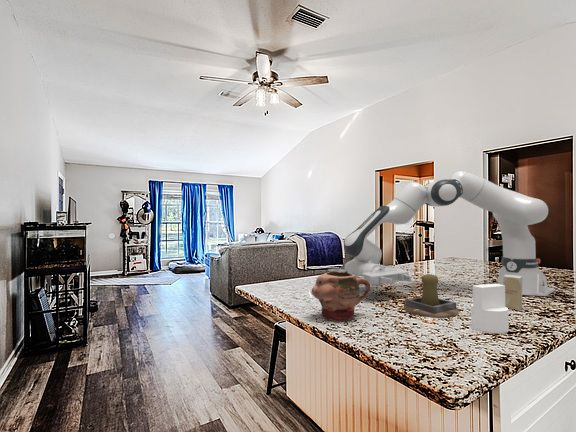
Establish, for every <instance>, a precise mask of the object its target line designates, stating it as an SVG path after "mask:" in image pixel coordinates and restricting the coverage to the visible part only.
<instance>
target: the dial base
mask: <svg viewBox="0 0 576 432" xmlns="http://www.w3.org/2000/svg"><path fill="white" fill-rule="evenodd" d="M421 300H422V296H419V297H418V296H417V297H413V298H412V297H411V298H409V299H408V298H407V299H405V300H404V304H403V310H404V311H405V312H408V313H410V314H413V315H416V316H420V317H426V318H435V319H436V318H437V319H442V318H443V319H444V318H445V319H446V317H448V318H454V317H457V316H458V315H459V314H460V313H459V312H460V311H459V308H458V307H457V302H455V301H453V300H452V301H451V300H447V299H442V298H439V304H440V305H437V306H431V305H427V304H423V303H421ZM458 313H459V314H458ZM456 315H457V316H456ZM453 316H454V317H453Z"/></svg>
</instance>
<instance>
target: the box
mask: <svg viewBox="0 0 576 432" xmlns="http://www.w3.org/2000/svg"><path fill="white" fill-rule="evenodd" d="M522 279H523V277H522V276H515V275H504V276H503V285H505V307H507V308H509V309H508V310H514V309H515V310H516V311H521V310H522V308H523V295H522Z"/></svg>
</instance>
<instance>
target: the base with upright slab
mask: <svg viewBox="0 0 576 432" xmlns="http://www.w3.org/2000/svg"><path fill="white" fill-rule="evenodd" d="M470 323H471V327H472V329H475V330H478V331H479V332H480V331H481V332H483V333H491V334H507V333H508V332H509V330H510V329H509V309H508V308H507V307H505V285H501V284H498V283H485V284H476V285H472V303H471V305H470Z"/></svg>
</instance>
